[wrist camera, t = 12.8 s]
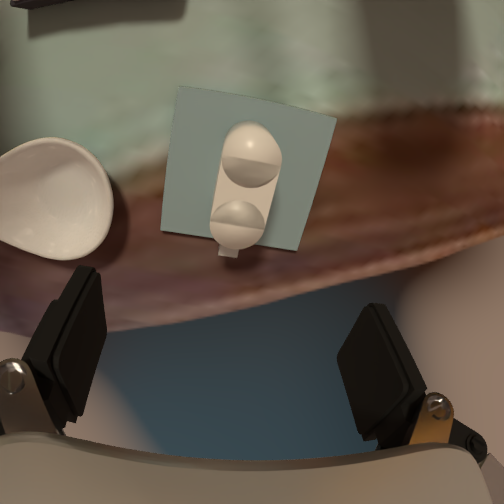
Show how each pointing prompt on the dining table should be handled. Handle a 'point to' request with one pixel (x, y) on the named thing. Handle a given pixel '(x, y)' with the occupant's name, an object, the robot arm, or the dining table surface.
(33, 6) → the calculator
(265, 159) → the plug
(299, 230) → the pad
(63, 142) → the spoon rest
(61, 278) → the dining table surface
